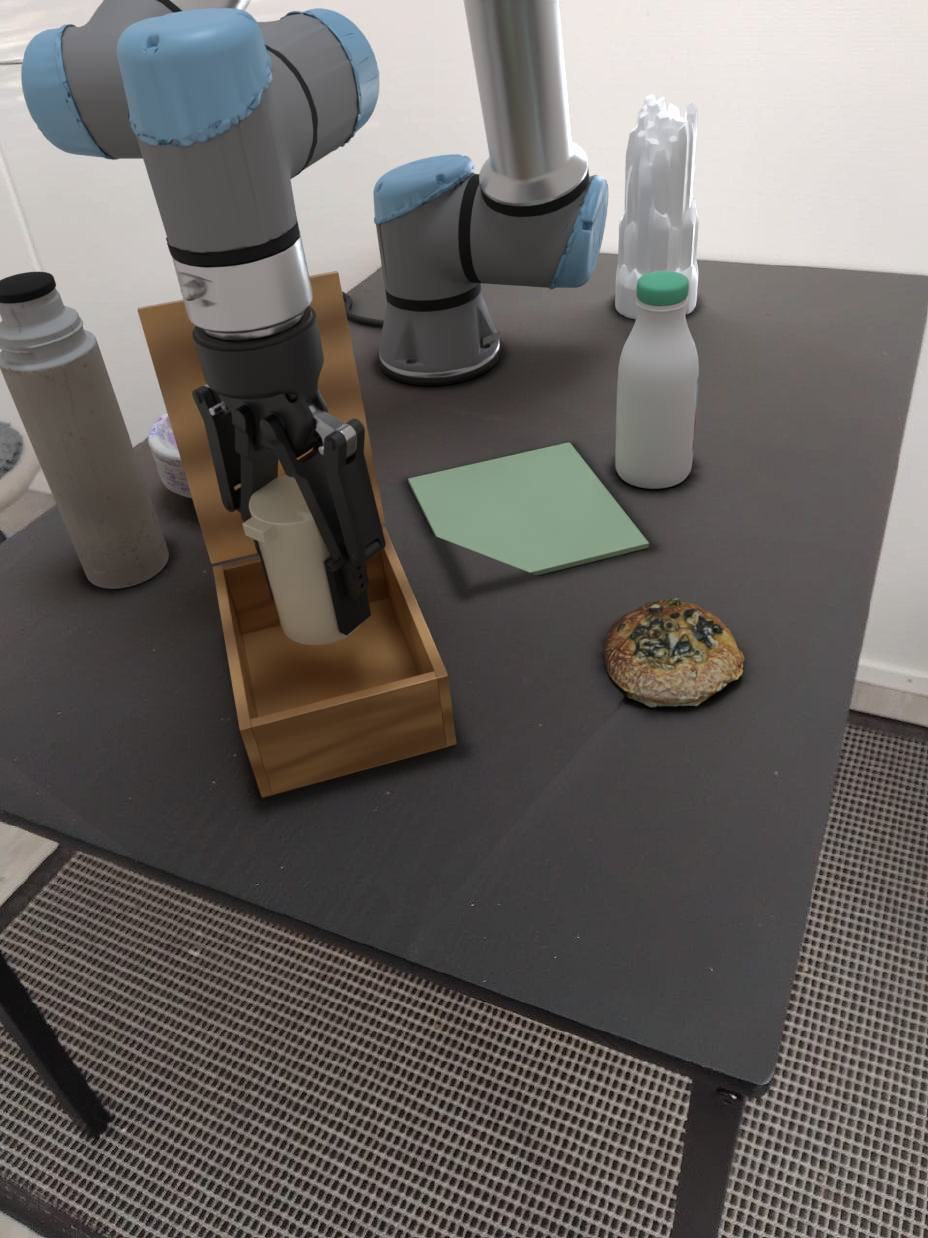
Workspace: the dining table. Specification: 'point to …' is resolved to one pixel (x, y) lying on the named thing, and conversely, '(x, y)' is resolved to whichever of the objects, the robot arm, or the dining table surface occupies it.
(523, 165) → the robot arm
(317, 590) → the jug
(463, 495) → the mat
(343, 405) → the chest lid
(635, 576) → the dining table surface
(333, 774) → the chest
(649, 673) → the bread roll
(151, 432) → the paper bowls
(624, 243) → the decorative vase
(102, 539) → the thermos bottle
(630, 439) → the milk bottle
